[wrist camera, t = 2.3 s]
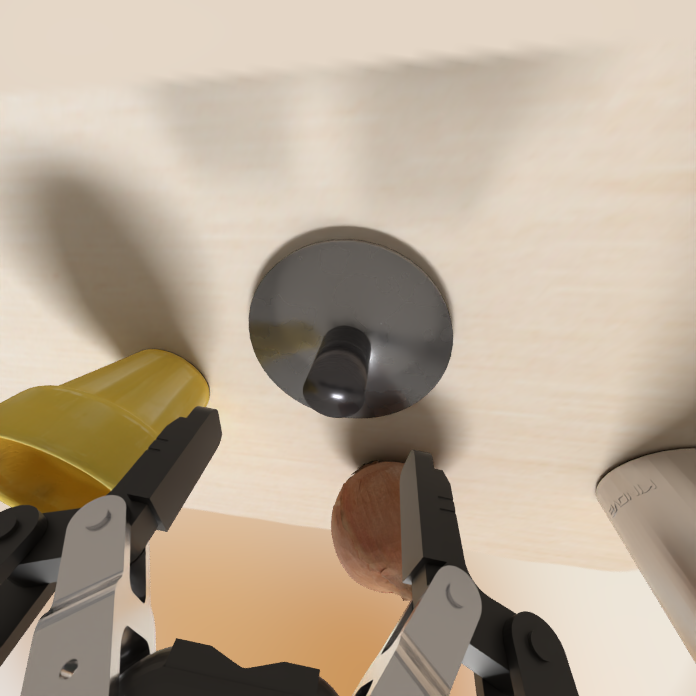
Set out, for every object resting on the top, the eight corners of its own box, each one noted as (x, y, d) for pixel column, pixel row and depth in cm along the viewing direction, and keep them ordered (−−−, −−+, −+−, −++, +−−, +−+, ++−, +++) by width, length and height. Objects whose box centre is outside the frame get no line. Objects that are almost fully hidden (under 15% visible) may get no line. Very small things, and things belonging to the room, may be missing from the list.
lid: (485, 261, 15) (525, 305, 10) (416, 423, 22) (422, 490, 18) (249, 218, 15) (187, 240, 11) (258, 389, 23) (224, 446, 18)
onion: (431, 444, 27) (510, 561, 19) (370, 501, 30) (418, 625, 22) (364, 421, 22) (436, 570, 14) (296, 493, 24) (326, 654, 16)
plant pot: (87, 313, 20) (-119, 411, 12) (223, 340, 20) (104, 461, 12) (130, 410, 26) (11, 521, 18) (236, 433, 26) (163, 557, 18)
